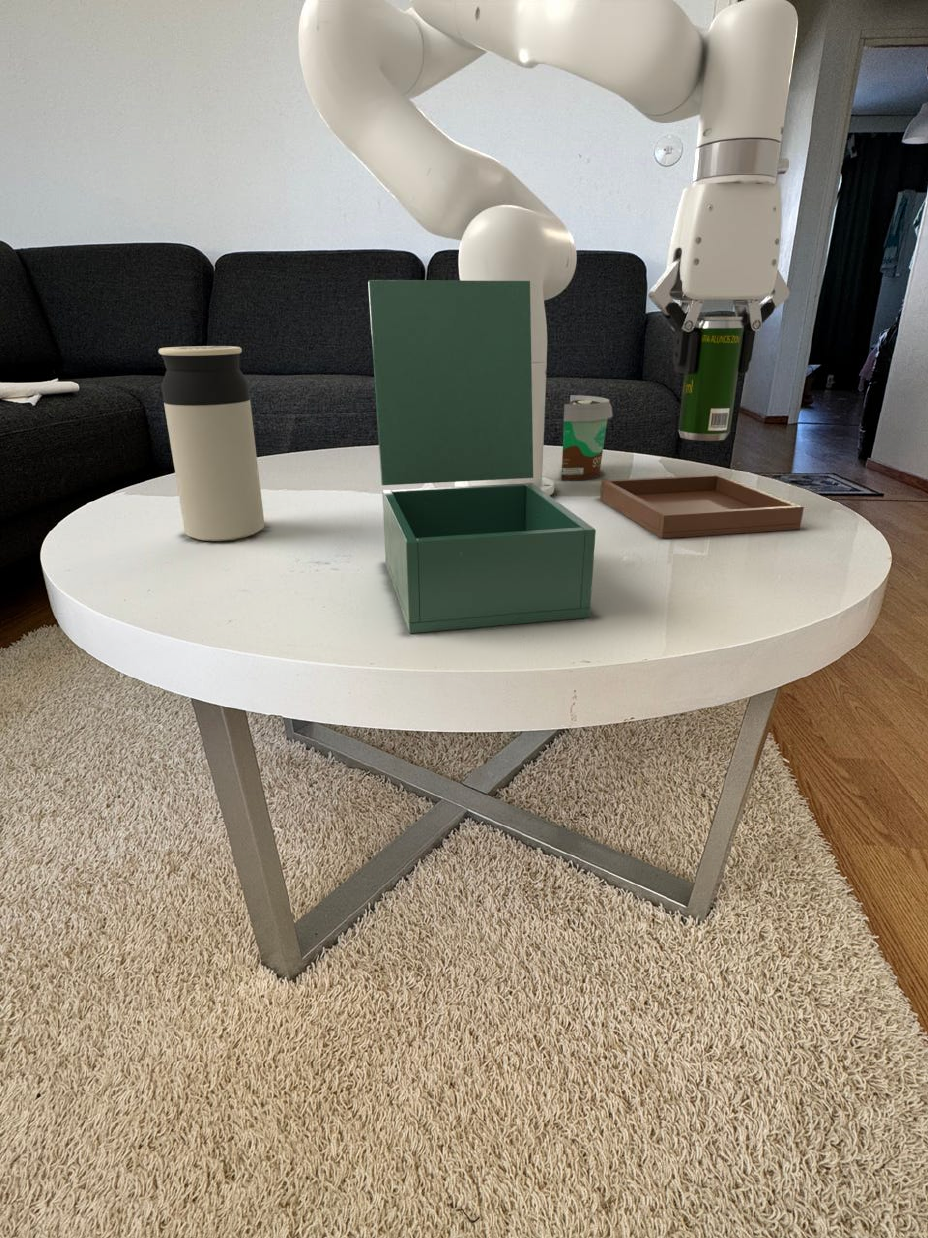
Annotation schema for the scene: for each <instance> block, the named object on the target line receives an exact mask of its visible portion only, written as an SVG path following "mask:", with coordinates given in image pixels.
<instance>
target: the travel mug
mask: <svg viewBox="0 0 928 1238" xmlns="http://www.w3.org/2000/svg"><path fill="white" fill-rule="evenodd" d="M242 351H243V349H242V348H241V347H240V346H231V345H228V346H227V345H202V346H201V345H199V346H194V345H193V346H192V345H191V346H171V347H170V346H169V347H161V348H158V351H157V352H158V354H159V355H161V357H162V360H163V362H164V363H163V364H164V366H165V369H166V371H165V373H164V376H163V379H162V382H161V386H160V388H161V393H162V400H163V407H164V412H165V417H166V424H167V431H168V436H169V443H170V450H171V455H172V462H173V467H174V474H175V479H176V486H177V493H178V498H179V504H180V511H181V517H182V523H183V529H184V534H185V535H186V536H187V537H191V538H194V539H195V540H198V541H204V542H205V541H206V542H226V541H234V540H239V539H245V538H248V537H252V536H254V535H256V534H258V533H259V532H260V531H261V530H263V529H264V528H265V517H264V509H263V501H262V491H261V483H260V481H261V480H260V475H259V474H260V473H259V465H258V457H257V456H258V455H257V447H256V439H255V432H254V431H255V430H254V429H255V428H254V422H253V412H252V405H251V396H250V395H251V394H250V387H249V382H248V380H247V379H246V377H245V376H244V374H243V372H242V371H241V369H240V356H241V353H242Z"/></svg>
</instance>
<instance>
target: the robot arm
mask: <svg viewBox="0 0 928 1238" xmlns="http://www.w3.org/2000/svg"><path fill="white" fill-rule="evenodd" d="M408 2H409V4H410V6H411V7H410V8H407V9H406V10H405V11H404V10H403V9H400V8H399V7H397V6H395V5H394V4H392V3H391V2H389V1H388V0H305V1H304V3H303V6H302V9H301V12H300V15H299V20H298V32H297V33H298V34H297V43H298V57H299V64H300V68H301V73H302V74H301V75H302V77H303V82H304V85H305V86H306V90H307V93H308V95H309V97H310V100H311V101H312V104H313V106H314V108H315V109H316V111H317V113H318V114H319V117H320V118H321V120H322V121H323V122H324V124H325V125H326V126H327V128H328V129H329V130H330V132H331V133H332V134H333V135H334V136H335V137H336V139H337V141H339V142H340V143H341V144H342V146H343V147H344V148H346V150H347V151H349V153H350V154H351V155H352V156H353V157H354V158H355V159H356V160H357V161H359V163H361V165H363V167H364V168H365V169H366V170H367V171H368V172H369V173H370V174H371V175H372V176H373V177H374V178H375V180H376V181H378V183H379V184H380V185H381V186H382V187H383V188H384V189H385V190H386V192H388V193H389V194H390V195H391V196H392V197H393V198H394V199H395V200H396V201H397V202H398V203H399V204H400V205H401V206H402V207H403V208H404V209H405V210H406V212H408V214H409V215H410V216H411V217H412V218H413V219H414V220H415V221H416V222H417V223H418V225H420V226H421V227H422V228H423V229H424V230H425V231H426V232H428V233H430V234H432V235H434V236H438V237H441V238H446V239H451V240H456V241H460V245H459V251H458V275H459V276H458V277H459V280H460V281H530V309H531V368H532V428H533V478H521V479H500V480H480V481H460V482H454V484H453V485H454V487H462V486H482V485H501V484H521V483H523V484H524V483H533V484H534V485H535V486H537V487H538V488H539V489H541V490H542V491H544V492H545V493H546V494H548V495H549V496H550V497H551V496H552V495H553V494H554V493H555V482H554V481H553V480H552V479H550V478H548V477H545V476H543V468H544V467H543V464H544V443H545V442H544V440H545V419H546V418H545V416H546V392H547V391H546V389H547V369H548V368H547V367H548V365H547V363H548V324H547V315H546V307H545V301H548V300H550V299H553V298H555V297H557V296H558V295H559V294H561V293H562V292H563V291H564V290H565V289H567V287H568V286H569V284H570V283H571V281H572V280H573V278H574V275H575V272H576V268H577V261H578V260H577V259H578V256H577V255H578V254H577V246H576V242H575V240H574V237H573V235H572V233H571V231H570V230H569V228H568V227H567V225H566V224H565V223H564V222H563V221H562V220H561V218H559V217H558V215H556V214H555V213H554V212H553V210H551V209H550V208H549V207H548V206H547V205H546V204H545V203H544V202H543V201H542V200H541V199H540V198H539V197H538V196H537V195H536V194H535V193H534V192H533V191H531V189H530V188H528V187H527V185H525V184H524V183H523V182H522V181H521V180H520V179H519V178H518V177H517V176H516V175H515V174H514V173H513V172H512V171H511V170H510V169H509V168H508V167H506V166H505V165H504V164H503V163H502V162H500V161H499V160H497V159H496V158H494V157H493V156H490V155H489V154H486V153H483V152H481V151H480V150H479V151H478V150H477V149H474V148H472V147H469V146H467V145H464V144H461V143H460V142H457V141H455V140H454V139H453V138H451V137H450V136H448V135H447V134H446V133H445V132H443V131H442V130H441V129H440V128H439V127H438V126H437V125H436V124H435V123H434V122H433V121H432V120H430V119H429V118H428V116H426V115H425V113H424V112H422V110H421V109H420V108H419V107H418V106H417V105H416V104H415V103H414V102H413V101H412V100H411V99H414V98H416V97H419V96H420V95H422V94H424V93H426V92H427V91H429V90H431V89H432V88H434V87H435V86H437V85H439V84H440V83H442V82H444V81H445V80H447V79H449V78H450V77H452V76H453V75H455V74H457V73H458V72H460V71H462V70H463V69H465V68H466V67H468V66H469V65H471V64H472V63H474V62H475V61H477V60H478V59H480V58H481V57H482V56H484V55H485V54H487V53H490V54H492V55H495V56H497V57H499V58H501V59H503V60H505V61H507V62H510V63H512V64H514V65H516V66H519V67H521V68H524V69H534V68H535V67H537V66H538V65H540V64H541V65H547V66H551V67H553V68H556V69H559V70H561V71H564V72H567V73H568V74H571V75H573V76H576V77H578V78H580V79H583V80H585V81H587V82H589V83H592V84H595V85H596V86H599V87H601V88H603V89H605V90H608V92H609V91H610V92H611V93H614V94H615V95H617V96H619V97H620V98H622V99H623V100H624V101H626V102H627V103H628V104H630V105H631V106H632V107H633V108H634V109H635V110H637V111H638V112H639V113H640V114H641V115H642V116H644V118H646V119H648V120H650V121H652V122H653V123H660V124H671V123H677V122H680V121H683V120H684V121H685V120H687V119H690V118H693V117H697V116H699V119H698V129H697V139H696V147H695V148H696V150H695V158H694V168H693V177H692V185H691V186H687V187H685V188H684V189H683V191H682V194H681V197H680V201H679V204H678V208H677V211H676V215H675V220H674V224H673V229H672V234H671V238H670V244H669V249H668V250H669V251H668V255H667V263H666V269H665V272H664V273H663V274H662V275H661V276H660V278H659V279H658V280H657V281H656V283H654V285H653V286H652V288H651V289H650V290H649V292H648V299H649V300H650V301H651V302H652V303H653V304H654V306H655V307H657V309H658V310H660V311H661V314H662V315H663V317H664V318H665V319H666V321H667V322H668V323H669V324H670V328H671V330H672V331H673V332H674V342H673V343H674V344H673V352H672V364H673V365H674V367H673V370H674V373H677V374H683V375H684V374H692V373H693V372H694V371H695V364H696V355H697V346H698V338H699V334H698V332H694V327H695V324H696V322H697V319H698V317H700V313H701V311H702V309H703V306H704V304H705V301H732V303H733V309H734V310H733V311H734V317H743V320H742V323H743V326H744V333H743V340H742V347H741V355H740V362H739V369H738V373H741V374H742V373H746V374H747V373H748V372H749V368H750V363H751V362H752V359H753V352H754V345H755V338H756V332H758V331H760V330H761V328H762V327H763V323H764V322H766V320H768V319H769V318H770V316H771V315H772V314H773V313H774V311H775V310H776V309H778V307H780V306H781V305H783V303H784V302H786V300H787V299H788V298H789V297H790V295H791V290H790V289H789V287H788V284H787V283H786V281H785V279H784V278H783V276H782V274H781V273H780V271H779V261H780V254H781V253H780V252H781V242H782V227H783V226H782V224H783V223H782V219H783V209H782V205H783V204H782V190H781V189H782V188H781V185H780V184H776V181H777V180H778V176H779V175H785V174H786V173H787V172H788V171H789V170H788V169H789V166H790V160H789V158H787V157H783V156H781V154H782V140H783V132H784V127H785V126H784V125H785V118H786V112H787V111H786V110H787V103H788V97H789V90H790V84H791V76H792V70H793V64H794V63H793V61H794V56H795V48H796V41H797V33H798V25H799V24H798V23H799V18H798V13H797V10H796V8H795V6H794V5H793V4H792V3H791V2H790V1H787V0H741V1H738V2H735V3H732V4H730V5H728V6H726V7H725V8H723V9H722V10H721V11H719V12H718V13H717V14H716V15H715V17H714V19H713V20H712V22H711V24H710V26H709V28H704V27H700V26H698V25H696V24H694V23H693V21H692V20H691V18H690V17H689V15H688V14H687V13H686V11H684V9H683V8H682V7H681V6H680V5H679V4H678V3H677V2H675V1H674V0H408ZM762 299H763V300H762ZM760 300H762V301H760ZM676 301H678V302H676Z"/></svg>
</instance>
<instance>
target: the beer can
mask: <svg viewBox="0 0 928 1238" xmlns="http://www.w3.org/2000/svg"><path fill="white" fill-rule="evenodd" d="M742 320H743V317H735V316H698V319H697V322H696V324H695V327H694V332H698V334H699V338H698V346H697V355H696V364H695V371H694V372H693V373H692V374H684V373H683V382H682V390H681V400H680V409H679V416H678V417H679V419H678V425H677V426H678V428H677V431H678V434H679V437H680V438H681V439H685V440H691V441H700V442H701V441H702V442H717V441H724V440H727V438H728V436H729V435H730V433H731V426H732V420H733V412H734V404H735V398H736V391H737V383H738V375H739V372H738V369H739V362H740V355H741V347H742V340H743V333H744V326H743V323H742Z"/></svg>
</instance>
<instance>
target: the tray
mask: <svg viewBox="0 0 928 1238" xmlns="http://www.w3.org/2000/svg"><path fill="white" fill-rule="evenodd" d="M599 501H601V502H602V503H604V504H605V505H607V506H609V507H610V508H612V509H614V510H615V511H616V512H618V513H620V514H622V515H623V516H625V517H627V518H628V519H629V520H632V521H633V522H634V523H636V524H638V525H639V526H641V527H643V528H644V529H646V530H648V531H649V532H651V533H652V534H654V535H656V536H657V537H658V538H660V539H662V540H663V539H677V538H691V537H705V536H721V535H734V534H750V533H751V534H752V533H763V532H764V533H765V532H778V531H779V532H780V531H793V530H794V531H795V530H800V529H801V525H802V518H803V514H804V509H805V507H804V506H803V505H799V504H797V503H795V502H793V501H789V500H787V499H784V498H781V497H779V496H776V495H774V494H771V493H769V492H766V491H763V490H761V489H758V488H755V487H753V486H750V485H748V484H746V483H743V482H740V481H738V480H736V479H732V478H730V477H727V476H724V475H722V474H720V473H719V474H718V473H717V474H701V475H699V474H698V475H683V476H682V475H679V476H660V477H659V476H658V477H642V478H640V477H639V478H623V479H622V478H621V479H620V478H619V479H604V480H601V481H600V496H599Z"/></svg>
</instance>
